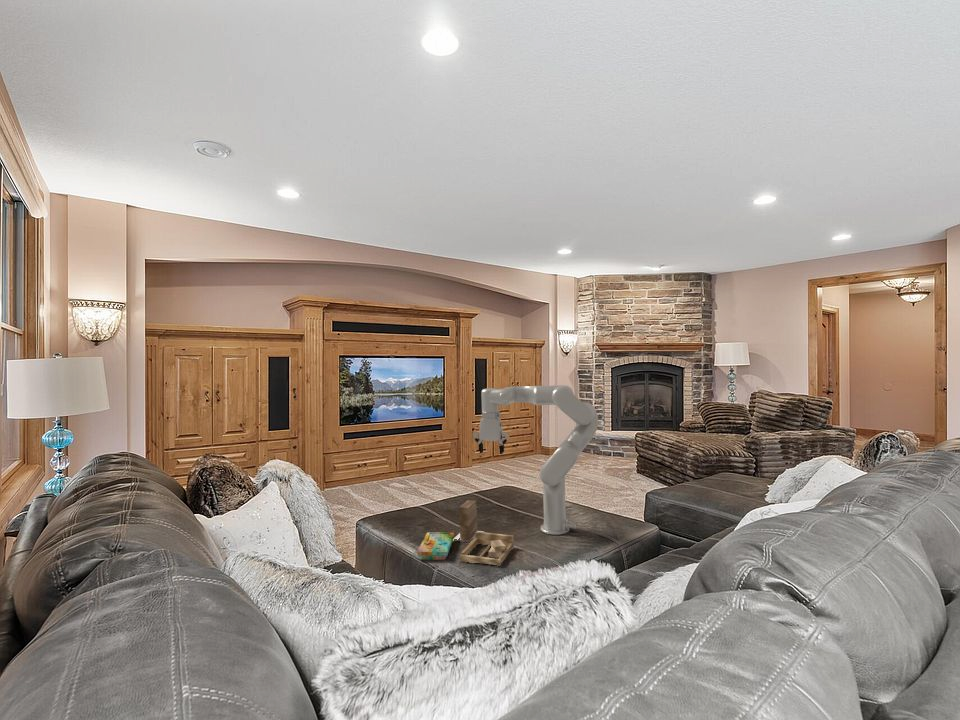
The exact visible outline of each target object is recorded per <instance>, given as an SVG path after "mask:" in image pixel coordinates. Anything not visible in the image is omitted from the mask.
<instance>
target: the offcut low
mask: <svg viewBox="0 0 960 720" xmlns="http://www.w3.org/2000/svg"><path fill="white" fill-rule="evenodd" d="M505 549H506V547H505ZM502 553H503V551H499V552H495V551H494V550H493V548H492V547H491V548H490V549H489V550H488V557H489V556H491V557H499V556H500V555H501V554H502Z"/></svg>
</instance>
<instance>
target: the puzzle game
mask: <svg viewBox="0 0 960 720" xmlns="http://www.w3.org/2000/svg"><path fill="white" fill-rule="evenodd" d="M454 538H455V532H430V531H429V532H426V534H425V536H424V538H423V539H422V541H421V544H420V545H419V547H418V550H417V551H416V552H417V553H416V554H417V556H418V558H420V559H421V560H424V561H425V560H428V561H429V560H430V561H432V560H433V561H434V560H435V561H436V560H438V561H439V560H440V561H441V560H443V561H445V560H446V558H447V557H448V554H449V553H450V549H451V547H452V543H453V542H454V541H453V539H454Z"/></svg>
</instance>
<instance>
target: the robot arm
mask: <svg viewBox="0 0 960 720" xmlns="http://www.w3.org/2000/svg"><path fill="white" fill-rule="evenodd" d="M480 395H481V418H480V422H479V431H477V432H475V433H473V434H472V437H473V438H474V441H475V443H477V445H478V451H479V454H482V453H483V452H484V443H483V442H484V441H485V442H498V443H499V455H502V454H504V452H505V444H506V443H507V442H508V441H509V438H510V434H508V433H506V432H504V431H503V425H502V423H503V422H502V419H501V418H500V417H502V414H503V413H500V412H499V406H509V405H511V404H512V403H515V404H516V403H528V404H533V405H534V406H556V407H557V408H558V409H559V410H560V411H561V412H563V413H564V414H565V415H567V417H568V418H570V419H571V420H572V421H573V422H574V423H576V426H575V427H574V428H573V430H572V431H571V433H570V434H569V435H568V436H567V437H566V438H565V439H564V440H563V441H562V442H560V444H559V445H558V447H557V449H555V451H554V452H553V453H552V455H551V456H550V457H549V458H548V459H547V460H546V461H544V463H543V464H542V466H541V468H540V471H539V479H540V481H541V482H542V488H543V490H542V493H543V494H542V495H543V496H542V497H543V498H542V500H543V501H542V503H543V524H541V525H540V531H541V532H543V533H544V534H547V535H555V536H557V535H564V534H567V533H569V532H570V529H576V528H577V527H576V526H577V525H576V523H575V522H573V521H572V522H571V521H568V518H566V475H567V474H568V473H569V472H570V471H571V470H572V468H573V467H574V466H575V465H576V463H577V462H578V460H579V457H580V455H581V453H582V452H583V451H584V450H585V448H586V447H587V446H588V444H589V443H590V441H591V440H592V439H593V438H594V436H595V434H596V432H597V430H598V426H599V417H598V415H599V414H598V413H597V410H596V408H595V407H594V405H593V404H591V403H590V402H585V401H584V402H583V401H582V400H581V399H579V398H578V397H577V396H576V395H575V394H574V391H573V389H572V388H571V386H568V385H563V384H561V385H559V384H558V385H556V384H555V385H531V386H526V385H523V386H521V385H520V386H519V385H518V386H507V387H503V388H499V389H497V388H492V387H491V388H488V387H487V388H483V389H482V390H481V394H480ZM478 436H479V437H478ZM504 437H505V438H504ZM503 438H504V439H503Z"/></svg>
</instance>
